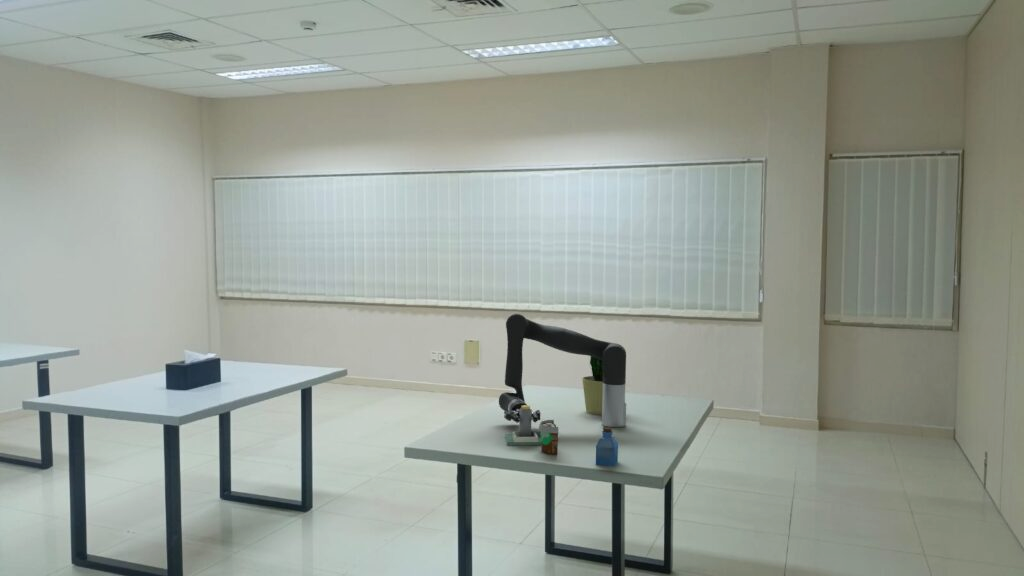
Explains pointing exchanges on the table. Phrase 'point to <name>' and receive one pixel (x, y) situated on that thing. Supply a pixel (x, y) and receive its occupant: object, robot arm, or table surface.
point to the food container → (549, 437)
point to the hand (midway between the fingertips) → (526, 419)
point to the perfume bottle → (607, 448)
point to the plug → (525, 421)
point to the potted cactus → (594, 387)
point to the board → (524, 438)
